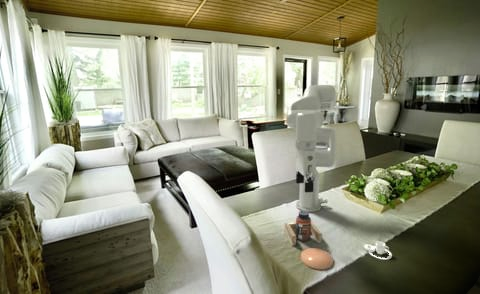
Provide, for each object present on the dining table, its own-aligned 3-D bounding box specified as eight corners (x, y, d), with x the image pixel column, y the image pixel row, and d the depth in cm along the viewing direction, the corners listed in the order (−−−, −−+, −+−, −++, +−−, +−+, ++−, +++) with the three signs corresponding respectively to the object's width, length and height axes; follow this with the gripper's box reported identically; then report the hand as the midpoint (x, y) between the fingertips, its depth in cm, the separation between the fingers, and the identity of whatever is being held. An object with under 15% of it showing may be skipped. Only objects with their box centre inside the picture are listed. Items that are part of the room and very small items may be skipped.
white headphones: (361, 250, 98) (361, 240, 97) (374, 243, 102) (375, 234, 101) (383, 263, 91) (384, 253, 90) (396, 255, 94) (397, 246, 94)
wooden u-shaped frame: (311, 228, 113) (311, 220, 112) (321, 242, 103) (321, 233, 102) (284, 231, 112) (284, 222, 111) (292, 245, 101) (292, 236, 101)
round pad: (324, 248, 99) (324, 246, 99) (338, 267, 88) (338, 265, 88) (296, 251, 98) (296, 249, 97) (307, 271, 87) (307, 269, 87)
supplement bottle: (302, 243, 103) (302, 217, 100) (292, 236, 108) (293, 211, 105) (313, 239, 105) (314, 213, 103) (303, 232, 110) (304, 208, 108)
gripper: (324, 149, 90) (322, 195, 94) (306, 140, 107) (305, 179, 110) (304, 150, 89) (302, 196, 93) (289, 141, 106) (288, 180, 110)
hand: (304, 187), depth 102 cm, fingers open, 9 cm apart
